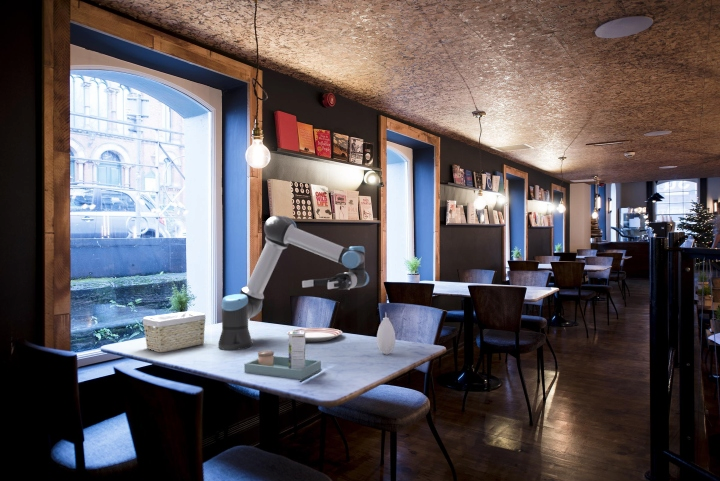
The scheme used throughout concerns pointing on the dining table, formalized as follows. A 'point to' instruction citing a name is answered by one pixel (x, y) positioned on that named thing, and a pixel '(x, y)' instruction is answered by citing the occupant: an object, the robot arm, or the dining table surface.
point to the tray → (284, 368)
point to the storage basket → (174, 330)
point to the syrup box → (297, 350)
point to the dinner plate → (319, 334)
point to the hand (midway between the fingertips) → (315, 285)
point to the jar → (265, 358)
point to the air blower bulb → (386, 336)
